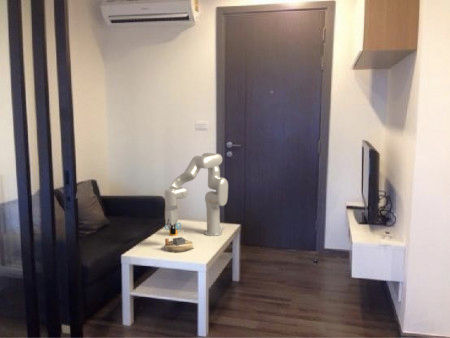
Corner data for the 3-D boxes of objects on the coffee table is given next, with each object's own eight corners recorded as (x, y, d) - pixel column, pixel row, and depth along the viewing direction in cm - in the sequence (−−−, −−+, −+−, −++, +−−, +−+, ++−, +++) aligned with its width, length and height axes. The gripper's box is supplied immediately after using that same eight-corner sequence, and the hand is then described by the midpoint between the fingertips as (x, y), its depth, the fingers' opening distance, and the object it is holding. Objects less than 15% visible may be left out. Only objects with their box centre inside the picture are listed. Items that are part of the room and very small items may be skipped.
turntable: (163, 244, 289) (162, 235, 288) (189, 242, 294) (189, 233, 293) (167, 252, 272) (167, 243, 271) (195, 249, 277) (195, 240, 276)
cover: (173, 243, 283) (172, 238, 283) (181, 242, 286) (181, 236, 286) (177, 245, 278) (176, 240, 278) (185, 244, 281) (185, 239, 281)
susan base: (182, 243, 293) (182, 243, 293) (193, 248, 282) (193, 248, 282) (164, 247, 284) (164, 247, 284) (175, 253, 273) (175, 252, 273)
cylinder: (177, 237, 308) (177, 217, 306) (163, 236, 310) (163, 216, 308) (182, 232, 320) (182, 213, 318) (169, 232, 322) (168, 212, 320)
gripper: (171, 204, 294) (173, 230, 296) (161, 210, 280) (163, 237, 282) (181, 205, 291) (182, 231, 294) (171, 210, 277) (173, 237, 280)
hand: (173, 234), depth 288 cm, fingers closed
